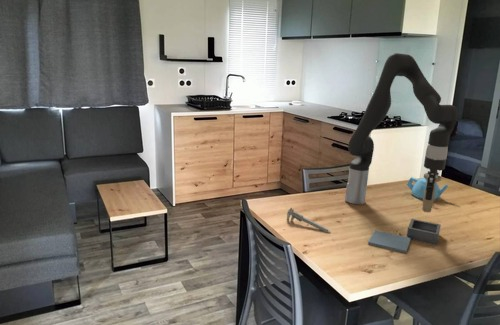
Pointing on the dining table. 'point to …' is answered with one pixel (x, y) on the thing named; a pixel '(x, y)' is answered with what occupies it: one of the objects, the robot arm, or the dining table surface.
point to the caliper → (301, 218)
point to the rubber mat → (389, 241)
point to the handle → (429, 203)
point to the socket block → (423, 231)
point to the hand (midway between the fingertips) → (428, 197)
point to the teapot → (423, 188)
